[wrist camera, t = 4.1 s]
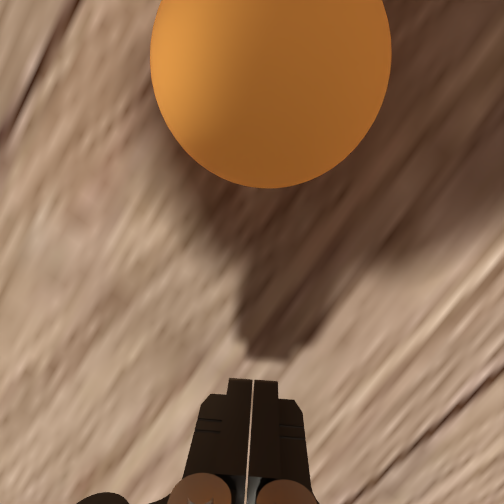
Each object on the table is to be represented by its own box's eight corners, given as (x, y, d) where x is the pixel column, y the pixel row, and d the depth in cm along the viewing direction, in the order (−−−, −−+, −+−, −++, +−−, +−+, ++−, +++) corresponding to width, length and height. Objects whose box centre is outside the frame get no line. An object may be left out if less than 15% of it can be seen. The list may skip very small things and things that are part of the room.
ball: (180, 171, 12) (118, 199, 7) (179, -24, 10) (98, -162, 5) (348, 180, 12) (405, 215, 7) (372, -16, 10) (465, -149, 5)
